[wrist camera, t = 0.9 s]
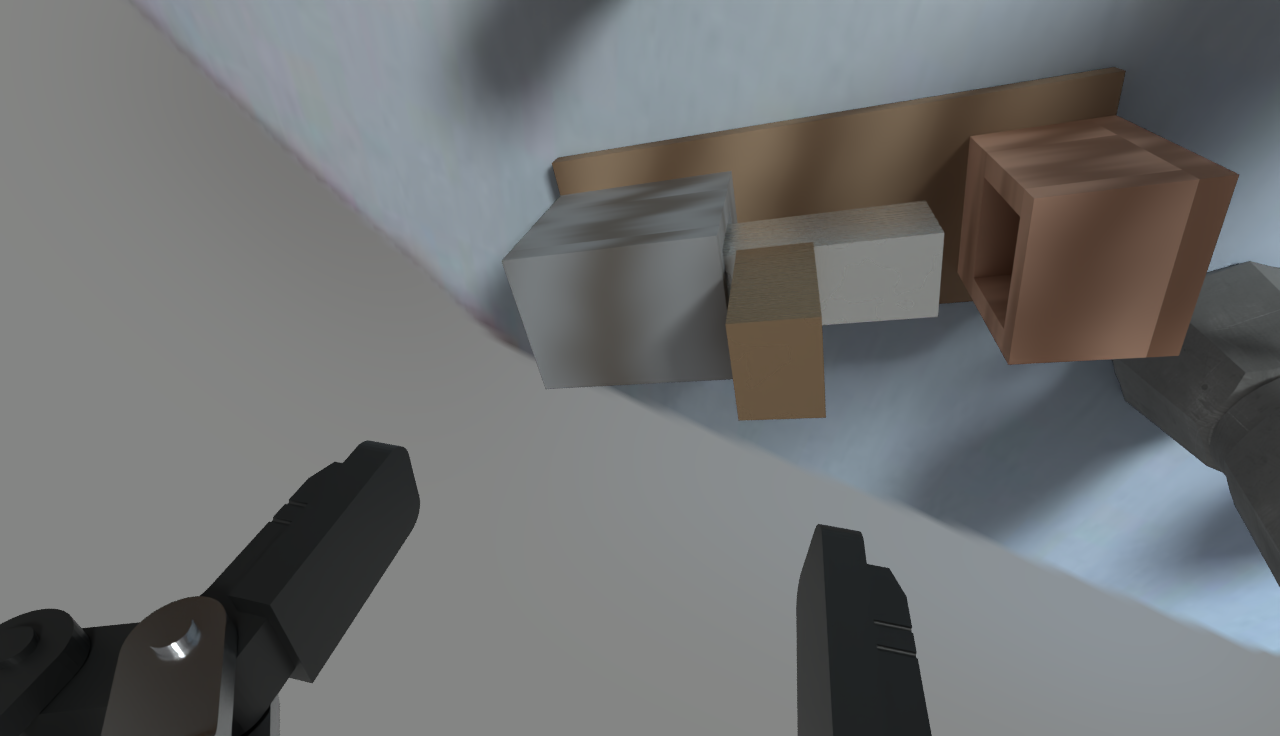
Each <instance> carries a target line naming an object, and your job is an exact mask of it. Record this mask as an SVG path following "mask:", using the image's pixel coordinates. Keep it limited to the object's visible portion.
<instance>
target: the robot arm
mask: <svg viewBox="0 0 1280 736" xmlns="http://www.w3.org/2000/svg"><path fill="white" fill-rule="evenodd" d="M419 509H420V498H419V494H418V490H417V486H416V482H415V478H414V474H413V470H412V466H411V462H410V458H409V454H408V451H407V450H406V449H405V448H404V447H401V446H396V445H390V444H385V443H379V442H374V441H364V442H362V443H361V444H359V445H358V446H357V447H356V449H355V450H354V451H353V452H352V453H351V454H350V456H349V457H348V458H347V459H346V460H345V461H344V462H343V463H338V462H334V463H332V464H330V465H329V466H327V467H326V468H324V469H323V470H321V471H319V472H318V473H316V474H315V475H313V476H311V477H310V478H308V480H307V481H306V482H305V483H304V484H303V485H302V486H301V487H300V488H299V489H298V490H297V492H296V493H295V494H294V495H293V496H292V497H291V498H290V499H289V503H288V504H285V505H284V506H283V507H282V508H281V509H280V510H279V511H278V512H277V514H276V515H275V516H274V517H273V521H272V522H268V523H267V524H266V526H265V527H264V528H263V529H262V530H261V531H260V532H259V533H258V534H257V535H256V537H255V538H254V539H253V540H252V541H251V542H250V543H249V544H248V545H247V547H246V548H245V549H244V550H243V551H242V552H241V553H240V554H239V555H238V556H237V557H236V559H235V560H234V561H233V562H232V563H231V564H230V565H229V566H228V567H227V568H226V569H225V571H224V572H223V573H222V574H221V575H220V576H219V577H218V578H217V579H216V580H215V582H214V583H213V584H212V585H211V586H210V587H209V588H208V589H207V590H206V591H205V592H204V593H203V594H201V595H200V596H195V597H188V598H184V599H180V600H177V601H174V602H171V603H169V604H167V605H165V606H163V607H161V608H159V609H158V610H156V611H154V612H153V613H151V614H150V615H149V616H147V617H146V618H145V619H143V620H142V621H141V622H139V623H130V624H120V625H110V626H100V627H90V628H81V627H80V626H79V625H78V624H77V623H76V622H75V620H73V618H72V617H71V616H70V615H69V614H68V613H66V612H65V611H62V610H58V609H41V610H36V611H31V612H28V613H25V614H22V615H19V616H17V617H15V618H12V619H10V620H8V621H6V622H4V623H2V624H0V736H279V735H280V730H279V729H280V703H279V697H278V693H279V691H280V690H281V688H282V687H283V686H284V684H285V682H286V681H287V679H288V678H293V679H298V680H301V681H305V682H309V683H313V682H314V680H315V679H316V677H317V676H318V674H319V672H320V671H321V669H322V668H323V666H324V665H325V663H326V662H327V660H328V659H329V657H330V655H331V654H332V652H333V651H334V649H335V648H336V646H337V645H338V643H339V642H340V640H341V639H342V637H343V635H344V634H345V632H346V631H347V629H348V628H349V626H350V625H351V623H352V622H353V620H354V619H355V617H356V616H357V614H358V612H359V611H360V609H361V608H362V606H363V605H364V603H365V602H366V600H367V599H368V597H369V596H370V594H371V593H372V591H373V589H374V588H375V586H376V585H377V583H378V582H379V580H380V579H381V577H382V576H383V574H384V573H385V571H386V569H387V568H388V566H389V565H390V563H391V562H392V560H393V559H394V557H395V556H396V554H397V553H398V551H399V549H400V548H401V546H402V544H403V543H404V542H405V540H406V539H407V537H408V536H409V534H410V532H411V531H412V529H413V528H414V525H415V523H416V520H417V518H418V514H419ZM796 616H797V702H798V703H797V708H798V736H932V735H931V730H930V724H929V719H928V713H927V708H926V702H925V697H924V691H923V685H922V680H921V675H920V669H919V664H918V659H917V658H916V647H915V641H914V636H913V633H912V632H911V628H912V625H911V619H910V614H909V608H908V603H907V597H906V595H905V594H904V592H903V590H902V589H901V587H900V585H899V584H898V582H897V581H896V579H895V577H894V575H893V574H892V572H891V571H890V569H889V568H885V567H880V566H874V565H869V564H867V563H866V555H865V547H864V540H863V536H862V534H861V532H859V531H854V530H849V529H844V528H837V527H832V526H827V525H822V524H818V525H817V526H816V528H815V531H814V534H813V538H812V540H811V544H810V547H809V550H808V554H807V556H806V559H805V562H804V566H803V568H802V572H801V575H800V579H799V585H798V592H797V607H796Z"/></svg>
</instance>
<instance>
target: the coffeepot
mask: <svg viewBox="0 0 1280 736" xmlns="http://www.w3.org/2000/svg"><path fill="white" fill-rule="evenodd" d="M1112 361H1113V364H1114V370H1115V374H1116V376H1117V378H1118V380H1119V383H1120V386H1121V389H1122V392H1123V396H1124V399H1125V401H1126V402H1128V403H1129V404H1130V405H1131V406H1133V407H1134V408H1135V409H1136V410H1138V411H1139V412H1140V413H1141V414H1143V415H1144V416H1145V417H1146V418H1148V419H1149V420H1150V421H1151V422H1153V423H1154V424H1155V425H1156V426H1158V427H1159V428H1160V429H1161V430H1163V431H1164V432H1165V433H1166V434H1168V435H1169V436H1170V437H1171V438H1173V439H1174V440H1175V441H1176V442H1178V443H1179V444H1180V445H1181V446H1183V447H1184V448H1185V449H1186V450H1188V451H1189V452H1190V453H1191V454H1193V455H1194V456H1195V457H1196V458H1198V459H1199V460H1200V461H1201V462H1203V463H1204V464H1205V465H1206V466H1209V467H1211V468H1213V469H1216V470H1218V471H1220V472H1223V473H1224V474H1225V476H1226V478H1227V482H1228V486H1229V489H1230V493H1231V496H1232V499H1233V502H1234V505H1235V507H1236V509H1237V511H1238V512H1239V514H1240V516H1241V518H1242V520H1243V521H1244V523H1245V525H1246V527H1247V529H1248V530H1249V532H1250V534H1251V536H1252V538H1253V540H1254V541H1255V543H1256V545H1257V547H1258V549H1259V550H1260V552H1261V554H1262V556H1263V558H1264V559H1265V561H1266V563H1267V565H1268V567H1269V568H1270V570H1271V572H1272V574H1273V576H1274V577H1275V579H1276V581H1277V583H1278V585H1279V587H1280V268H1277V267H1271V266H1266V265H1263V264H1259V263H1255V262H1251V261H1248V262H1244V263H1241V264H1237V265H1233V266H1229V267H1225V268H1221V269H1218V270H1214V271H1211V272H1207V273H1206V276H1205V279H1204V282H1203V285H1202V288H1201V291H1200V294H1199V297H1198V300H1197V303H1196V306H1195V309H1194V312H1193V315H1192V318H1191V321H1190V324H1189V327H1188V330H1187V333H1186V336H1185V339H1184V342H1183V345H1182V348H1181V351H1180V354H1179V356H1164V357H1145V358H1126V359H1112Z"/></svg>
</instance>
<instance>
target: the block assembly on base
mask: <svg viewBox="0 0 1280 736" xmlns="http://www.w3.org/2000/svg"><path fill="white" fill-rule="evenodd" d="M1125 72H1126V71H1125V70H1122V69H1119V68H1116V67H1111V68H1105V69H1099V70H1093V71H1087V72H1081V73H1074V74H1068V75H1062V76H1056V77H1050V78H1044V79H1038V80H1032V81H1025V82H1019V83H1013V84H1007V85H1001V86H995V87H989V88H982V89H976V90H970V91H964V92H958V93H952V94H946V95H940V96H933V97H927V98H921V99H915V100H909V101H903V102H897V103H890V104H884V105H878V106H872V107H866V108H860V109H854V110H848V111H841V112H835V113H829V114H823V115H817V116H811V117H805V118H799V119H792V120H786V121H780V122H774V123H768V124H762V125H756V126H749V127H743V128H737V129H731V130H725V131H719V132H713V133H707V134H700V135H694V136H688V137H682V138H676V139H670V140H664V141H657V142H651V143H645V144H639V145H633V146H627V147H621V148H615V149H608V150H602V151H596V152H590V153H584V154H578V155H572V156H565V157H559V158H557V159H556V160H555V161H554V162H553V163H552V166H553V169H554V173H555V177H556V180H557V184H558V188H559V192H560V195H561V196H560V197H559V198H558V199H557V200H556V201H555V202H554V203H553V205H552V206H551V207H550V208H549V209H548V210H547V211H546V212H545V213H544V214H543V216H542V217H541V218H540V219H539V220H538V221H537V222H536V223H535V224H534V225H533V227H532V228H531V229H530V230H529V231H528V232H527V233H526V234H525V235H524V236H523V238H522V239H521V240H520V241H519V242H518V243H517V244H516V245H515V246H514V248H513V249H512V250H511V251H510V252H509V253H508V254H507V255H506V256H505V257H504V259H503V260H502V264H503V267H504V270H505V272H506V275H507V278H508V281H509V284H510V287H511V290H512V293H513V296H514V299H515V302H516V304H517V307H518V310H519V313H520V316H521V319H522V322H523V325H524V328H525V331H526V333H527V336H528V339H529V342H530V345H531V348H532V351H533V354H534V357H535V360H536V362H537V365H538V368H539V371H540V374H541V377H542V380H543V383H544V386H545V388H546V389H554V388H573V387H592V386H611V385H630V384H649V383H669V382H688V381H707V380H726V379H733V375H732V368H731V361H730V354H729V346H728V339H727V332H726V325H725V324H726V317H727V311H728V304H729V297H728V290H727V282H726V274H725V267H724V259H723V252H722V248H723V243H724V238H725V233H726V228H727V224H736V223H744V222H752V221H760V220H769V219H777V218H785V217H793V216H802V215H810V214H818V213H826V212H835V211H843V210H851V209H859V208H868V207H876V206H884V205H892V204H901V203H909V202H917V201H925V200H926V202H927V204H928V206H929V207H930V209H931V211H932V212H933V214H934V216H935V218H936V219H937V221H938V223H939V224H940V226H941V228H942V229H943V231H944V244H943V257H942V270H941V283H940V296H939V304H943V303H956V302H969V301H973V302H974V303H975V305H976V307H977V309H978V311H979V312H980V314H981V316H982V318H983V320H984V322H985V323H986V325H987V327H988V329H989V331H990V332H991V334H992V336H993V338H994V340H995V341H996V343H997V345H998V347H999V349H1000V350H1001V352H1002V354H1003V356H1004V358H1005V359H1006V361H1007V363H1008V365H1012V364H1031V363H1050V362H1069V361H1088V360H1107V359H1126V358H1145V357H1164V356H1179V354H1180V351H1181V348H1182V345H1183V342H1184V339H1185V336H1186V333H1187V330H1188V327H1189V324H1190V321H1191V318H1192V315H1193V312H1194V309H1195V306H1196V303H1197V300H1198V297H1199V294H1200V291H1201V288H1202V285H1203V282H1204V279H1205V276H1206V273H1207V270H1208V267H1209V264H1210V261H1211V258H1212V255H1213V252H1214V249H1215V246H1216V243H1217V240H1218V237H1219V234H1220V231H1221V228H1222V225H1223V222H1224V219H1225V216H1226V213H1227V210H1228V207H1229V204H1230V201H1231V198H1232V195H1233V192H1234V189H1235V186H1236V183H1237V180H1238V177H1239V174H1237V173H1235V172H1233V171H1231V170H1229V169H1227V168H1225V167H1223V166H1220V165H1218V164H1216V163H1214V162H1212V161H1210V160H1208V159H1206V158H1204V157H1202V156H1200V155H1198V154H1196V153H1194V152H1191V151H1189V150H1187V149H1185V148H1183V147H1181V146H1179V145H1177V144H1175V143H1173V142H1171V141H1169V140H1167V139H1165V138H1162V137H1160V136H1158V135H1156V134H1154V133H1152V132H1150V131H1148V130H1146V129H1144V128H1142V127H1140V126H1138V125H1136V124H1133V123H1131V122H1129V121H1127V120H1125V119H1123V118H1121V117H1119V116H1117V115H1116V114H1117V109H1118V105H1119V100H1120V95H1121V90H1122V86H1123V81H1124V76H1125Z"/></svg>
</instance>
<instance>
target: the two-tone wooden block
mask: <svg viewBox="0 0 1280 736" xmlns="http://www.w3.org/2000/svg"><path fill="white" fill-rule="evenodd" d="M943 244H944V231H943V229H942V228H941V226H940V224H939V223H938V221H937V219H936V218H935V216H934V214H933V212H932V211H931V209H930V207H929V206H928V204H927V202H926V200H925V201H917V202H909V203H901V204H892V205H884V206H876V207H868V208H859V209H851V210H843V211H835V212H826V213H818V214H810V215H802V216H793V217H785V218H777V219H769V220H760V221H752V222H744V223H736V224H727V228H726V233H725V238H724V243H723V248H722V252H723V259H724V267H725V274H726V282H727V290H728V297H729V304H728V311H727V317H726V324H725V325H726V332H727V339H728V346H729V354H730V361H731V368H732V375H733V382H734V390H735V397H736V404H737V411H738V419H739V420H767V419H797V418H826V410H825V385H824V360H823V335H822V325H832V324H846V323H860V322H873V321H887V320H900V319H914V318H928V317H938V309H939V296H940V283H941V270H942V257H943Z"/></svg>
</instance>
